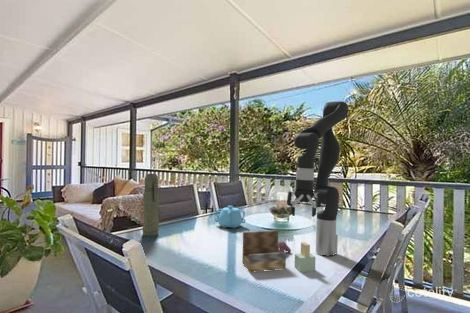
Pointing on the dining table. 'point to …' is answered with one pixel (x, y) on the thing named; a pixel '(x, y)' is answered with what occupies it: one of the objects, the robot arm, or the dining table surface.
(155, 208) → the thermos
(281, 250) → the video game controller
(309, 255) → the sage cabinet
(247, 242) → the wall board ledge
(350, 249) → the dining table surface
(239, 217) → the decorative pot
